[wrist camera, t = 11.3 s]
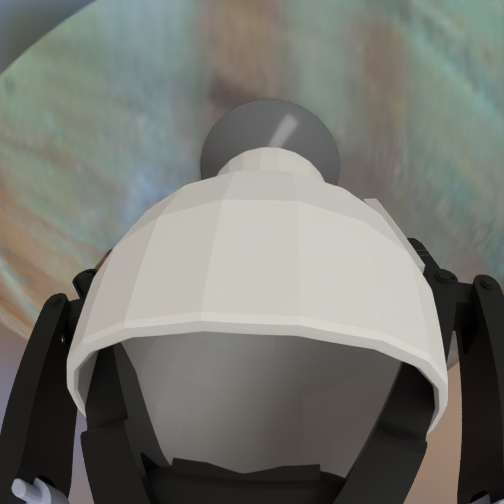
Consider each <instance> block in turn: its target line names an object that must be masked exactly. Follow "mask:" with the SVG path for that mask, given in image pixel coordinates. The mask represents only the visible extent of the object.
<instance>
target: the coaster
mask: <svg viewBox="0 0 504 504" xmlns="http://www.w3.org/2000/svg"><path fill="white" fill-rule="evenodd" d="M261 147H270V148H282V149H285V150H288V151H292V152H295V153H297V154H298V155H300V156H302V157H303V158H305V159H307V160H308V161H310V162H311V164H312V165H313V166H314V167H315V168H316V169H317V170H318V171H319V172H320V173H321V175H322V177H323V179H324V181H325V183H329V184H332V185H335V186H337V183H338V178H339V170H340V162H339V154H338V150H337V147H336V144H335V141H334V139H333V137H332V135H331V133H330V132H329V130H328V129H327V128H326V126H325V125H324V124H323V123H322V122H321V121H320V120H319V119H318V118H317V117H316V116H315V115H314V114H312V113H311V112H310V111H308V110H306V109H304V108H303V107H301V106H299V105H296V104H294V103H291V102H287V101H283V100H276V99H263V100H256V101H252V102H248V103H245V104H243V105H240V106H238V107H236V108H234V109H233V110H231V111H230V112H228V113H227V114H225V115H224V116H223V117H222V118H221V119H220V120H219V121H218V122H217V123H216V124H215V125H214V127H213V128H212V130H211V131H210V133H209V134H208V136H207V138H206V140H205V143H204V146H203V149H202V155H201V175H202V179H203V180H205V179H209V178H212V177H216V176H217V175H218V173H219V171H220V170H221V169H222V168H223V167H224V166H225V165H226V164H227V163H228V162H229V161H230V160H231V159H233V158H234V157H236V156H238V155H240V154H241V153H243V152H245V151H249V150H253V149H257V148H261Z"/></svg>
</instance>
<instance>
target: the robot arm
mask: <svg viewBox="0 0 504 504" xmlns="http://www.w3.org/2000/svg"><path fill="white" fill-rule="evenodd" d="M363 202H364V203H365V204H367V205H368V206H369V207H371V208H372V209H374V210H375V211H376V212H378V213H379V214H380V215H382V216H383V218H384V219H385V220H386V222H387V223H388V224H389V226H390V227H391V229H392V230H393V231H394V233H395V234H396V236H397V237H398V238H399V240H400V241H401V243H402V244H403V246H404V247H405V249H406V250H407V252H408V253H409V255H410V256H411V258H412V259H413V261H414V262H415V264H416V265H417V267H418V268H419V270H420V271H421V273H422V275H423V276H424V278H425V279H426V281H427V283H428V284H429V286H430V288H431V289H432V293H433V297H434V302H435V306H436V311H437V315H438V320H439V325H440V331H441V336H442V342H443V348H444V354H445V361H446V364H447V359H448V354H449V349H450V343H451V337H452V331H456V337H457V345H458V354H459V363H460V375H461V392H462V444H461V460H460V472H459V480H458V492H457V504H504V295H503V292H502V290H501V287H500V285H499V284H498V282H497V281H496V280H495V279H494V278H492V277H490V276H488V275H478V276H476V277H475V278H474V281H473V284H468V283H461V282H458V279H457V277H456V276H455V275H454V274H453V273H451V272H450V271H448V270H445V269H440V268H439V266H438V265H437V263H436V262H435V261H434V259H433V258H432V256H431V255H430V254H429V252H428V251H427V250H426V248H425V247H424V246H423V244H422V243H421V242H419V241H418V240H416V239H415V238H406V237H405V236H404V234H403V233H402V232H401V230H400V229H399V227H398V226H397V225H396V223H395V222H394V221H393V220H392V218H391V217H390V216H389V214H388V213H387V212H386V210H385V209H384V208H383V207H382V205H381V204H380V203H379V202H378V200H377V199H363ZM97 272H98V270H97V269H88V270H85V271H83V272H81V273H79V274H78V275H76V277H75V278H74V279H73V281H72V283H73V285H74V287H75V289H76V291H77V293H78V295H79V297H80V299H77V300H72V301H69V300H68V298H67V296H66V295H65V294H63V293H59V294H55V295H53V296H51V297H50V298H49V299H48V300H47V301H46V302H45V304H44V306H43V308H42V310H41V313H40V315H39V317H38V320H37V322H36V324H35V327H34V329H33V331H32V334H31V336H30V339H29V341H28V344H27V346H26V349H25V352H24V354H23V357H22V360H21V363H20V366H19V369H18V371H17V375H16V378H15V381H14V384H13V387H12V390H11V394H10V397H9V401H8V405H7V408H6V412H5V417H4V420H3V425H2V429H1V434H0V504H69V501H68V496H69V492H70V487H71V478H72V462H73V446H74V435H75V425H76V416H77V409H78V408H77V406H76V404H75V402H74V400H73V398H72V396H71V394H70V392H69V390H68V388H67V358H68V354H69V351H70V347H71V344H72V340H73V337H74V334H75V330H76V327H77V324H78V321H79V318H80V315H81V312H82V309H83V306H84V303H85V300H86V297H87V294H88V292H89V289H90V286H91V283H92V281H93V278H94V277H95V275H96V273H97ZM61 338H62V339H63V343H62V339H61ZM434 410H435V402H434V391H433V385H432V384H431V383H430V382H429V381H428V380H427V379H426V378H425V376H424V375H423V374H422V373H421V372H420V371H419V370H418V369H417V368H416V367H415V366H413V365H411V364H409V363H406V362H404V361H402V362H401V364H400V367H399V369H398V372H397V374H396V377H395V379H394V382H393V384H392V387H391V389H390V392H389V394H388V396H387V399H386V401H385V403H384V405H383V408H382V410H381V412H380V414H379V416H378V418H377V420H376V422H375V425H374V427H373V429H372V431H371V433H370V435H369V437H368V438H367V440H366V442H365V444H364V446H363V448H362V450H361V452H360V453H359V455H358V457H357V459H356V460H355V462H354V464H353V465H352V467H351V469H350V470H349V472H348V474H347V475H346V477H345V478H344V477H341V476H339V475H336V474H333V473H329V472H323V471H320V464H314V465H295V466H280V467H275V468H271V469H266V470H261V471H256V472H251V473H239V472H235V471H232V470H229V469H226V468H223V467H219V466H216V465H214V464H211V463H208V462H201V461H193V460H186V459H180V458H174V457H173V461H172V465H170V464H169V463H168V461H167V460H166V458H165V456H164V455H163V453H162V450H161V448H160V445H159V443H158V440H157V437H156V434H155V432H154V429H153V426H152V423H151V420H150V417H149V414H148V411H147V408H146V404H145V401H144V398H143V395H142V391H141V388H140V384H139V381H138V377H137V374H136V370H135V368H134V366H133V365H132V363H131V361H130V359H129V357H128V355H127V353H126V351H125V349H124V347H123V345H122V344H121V342H119V343H116V344H113V345H111V346H108V347H105V348H102V349H99V352H98V356H97V359H96V363H95V367H94V371H93V374H92V378H91V382H90V387H89V391H88V395H87V400H86V404H85V413H86V420H87V428H88V429H87V431H85V432H82V434H81V446H82V452H83V457H84V462H85V467H86V472H87V476H88V481H89V485H90V489H91V492H92V496H93V500H94V504H403V503H404V501H405V498H406V497H407V494H408V492H409V490H410V488H411V486H412V484H413V482H414V479H415V477H416V475H417V472H418V470H419V468H420V465H421V463H422V460H423V458H424V455H425V452H426V448H427V442H426V441H425V440H426V435H427V432H428V429H429V426H430V423H431V420H432V417H433V414H434Z"/></svg>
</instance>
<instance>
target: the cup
mask: <svg viewBox="0 0 504 504" xmlns="http://www.w3.org/2000/svg"><path fill="white" fill-rule="evenodd" d="M119 342H121V344H122V345H123V347H124V349H125V351H126V353H127V355H128V357H129V359H130V361H131V363H132V365H133V366H134V368H135V370H136V374H137V377H138V381H139V384H140V388H141V391H142V395H143V398H144V401H145V404H146V408H147V411H148V414H149V417H150V420H151V423H152V426H153V429H154V432H155V434H156V437H157V440H158V443H159V445H160V448H161V450H162V453H163V455H164V456H165V458H166V460H167V461H168V463H169V464H170V465H172V461H173V457H174V458H180V459H186V460H193V461H201V462H208V463H211V464H214V465H216V466H219V467H223V468H226V469H229V470H232V471H235V472H239V473H251V472H256V471H261V470H266V469H271V468H275V467H280V466H295V465H314V464H320V471H323V472H329V473H333V474H336V475H339V476H341V477H344V478H345V477H346V475H347V474H348V472H349V470H350V469H351V467H352V465H353V464H354V462H355V460H356V459H357V457H358V455H359V453H360V452H361V450H362V448H363V446H364V444H365V442H366V440H367V438H368V437H369V435H370V433H371V431H372V429H373V427H374V425H375V422H376V420H377V418H378V416H379V414H380V412H381V410H382V408H383V405H384V403H385V401H386V399H387V396H388V394H389V392H390V389H391V387H392V384H393V382H394V379H395V377H396V374H397V372H398V369H399V367H400V364H401V362H402V361H404V362H406V363H409V364H411V365H413V366H415V367H416V368H417V369H418V370H419V371H420V372H421V373H422V374H423V375H424V376H425V378H426V379H427V380H428V381H429V382H430V383H431V384H432V385H433V391H434V402H435V410H434V414H433V417H432V420H431V423H430V426H429V429H428V432H427V435H428V434H429V433H430V432H431V431H432V430H433V429H434V428H435V426H436V425H437V423H438V421H439V419H440V418H441V416H442V414H443V412H444V410H445V409H446V406H447V402H448V399H447V398H448V378H447V369H446V361H445V354H444V348H443V342H442V336H441V331H440V325H439V320H438V315H437V311H436V306H435V302H434V297H433V293H432V289H431V288H430V286H429V284H428V283H427V281H426V279H425V278H424V276H423V275H422V273H421V271H420V270H419V268H418V267H417V265H416V264H415V262H414V261H413V259H412V258H411V256H410V255H409V253H408V252H407V250H406V249H405V247H404V246H403V244H402V243H401V241H400V240H399V238H398V237H397V236H396V234H395V233H394V231H393V230H392V229H391V227H390V226H389V224H388V223H387V222H386V220H385V219H384V218H383V216H382V215H380V214H379V213H378V212H376V211H375V210H374V209H372V208H371V207H369V206H368V205H367V204H365V203H364V202H362V201H361V200H360V199H358V198H357V197H355V196H354V195H352V194H351V193H349V192H348V191H346V190H345V189H343V188H341V187H338V186H335V185H332V184H329V183H325V181H324V179H323V177H322V175H321V173H320V172H319V171H318V170H317V169H316V168H315V167H314V166H313V165H312V164H311V162H310V161H308V160H307V159H305V158H303V157H302V156H300V155H298V154H297V153H295V152H292V151H288V150H285V149H282V148H270V147H261V148H257V149H253V150H249V151H245V152H243V153H241V154H240V155H238V156H236V157H234V158H233V159H231V160H230V161H229V162H228V163H227V164H226V165H225V166H224V167H223V168H222V169H221V170H220V171H219V173H218V175H217V176H216V177H212V178H209V179H205V180H201V181H198V182H194V183H191V184H188V185H185V186H183V187H182V188H180V189H179V190H177V191H175V192H174V193H172V194H171V195H169V196H168V197H166V198H165V199H163V200H162V201H160V202H159V203H157V204H156V205H154V206H153V207H151V208H150V209H148V210H147V211H146V212H145V213H144V214H143V215H142V216H141V218H140V219H139V220H138V221H137V222H136V223H135V224H134V225H133V226H132V227H131V229H130V230H129V231H128V232H127V233H126V234H125V235H124V236H123V238H122V239H121V240H120V241H119V242H118V243H117V244H116V246H115V247H114V248H113V250H112V251H111V253H110V254H109V256H108V257H107V259H106V260H105V261H104V263H103V264H102V266H101V267H100V269H99V270H98V272H97V273H96V275H95V277H94V278H93V281H92V283H91V286H90V289H89V292H88V294H87V297H86V300H85V303H84V306H83V309H82V312H81V315H80V318H79V321H78V324H77V327H76V330H75V334H74V337H73V340H72V344H71V347H70V351H69V354H68V358H67V388H68V390H69V392H70V394H71V396H72V398H73V400H74V402H75V404H76V406H77V408H78V409H79V410H80V411H81V413H82V414H83V415H84V416H85V417H86V413H85V404H86V400H87V395H88V391H89V387H90V382H91V378H92V374H93V371H94V367H95V363H96V359H97V356H98V352H99V349H102V348H105V347H108V346H111V345H113V344H116V343H119ZM427 435H426V436H427Z"/></svg>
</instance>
